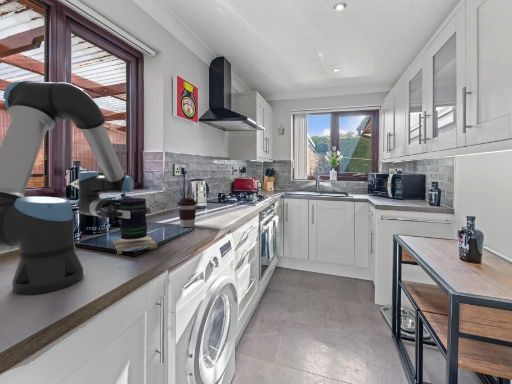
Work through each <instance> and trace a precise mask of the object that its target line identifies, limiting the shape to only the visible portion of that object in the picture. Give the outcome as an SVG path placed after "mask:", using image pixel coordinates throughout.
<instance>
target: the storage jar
mask: <svg viewBox="0 0 512 384" xmlns="http://www.w3.org/2000/svg"><path fill="white" fill-rule="evenodd" d="M146 201H147V199H146V198H143V197H133V198H130V197H129V198H121V199H119V200H118V202H119V203H118V204H119V206H120V207H119V210H123V211H130V219H127V218H120V224H119V227H120V228H119V232H120V239H125V240H133V239H140V238H144V237H146V236H147V235H148V233H147V232H148V226H147V225H148V222H147V214H146V207H147V202H146Z"/></svg>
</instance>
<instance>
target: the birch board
mask: <svg viewBox="0 0 512 384" xmlns="http://www.w3.org/2000/svg"><path fill="white" fill-rule="evenodd" d="M113 244H114V246H115V248H116V250H117V253H116V255H123V254H122V251H124V250H130V249H136V248H142V247H150V249H149V250H155V249H158V244H157V242H156V241H155V240H154V239H153V238H152V237H151V236H150V235H148V234H147V236H146V237H144V238H140V239H133V240H125V239H121V238H118V239H112V245H113ZM114 246H113V247H114ZM115 248H114V249H115ZM116 250H115V251H116Z"/></svg>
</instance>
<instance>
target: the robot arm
mask: <svg viewBox="0 0 512 384" xmlns="http://www.w3.org/2000/svg"><path fill="white" fill-rule="evenodd" d="M2 97H3V99H4V100H5V101H3V103H4V107H5V108H6V110H7V113H8V116H9V117H10V118H11V119H10V123H9V125H8V127H7V129H6V132H5V135H4V136H3V138H2V141H1V143H0V247H18V253H19V255H18V256H19V261H18V263H17V267H16V270H15V273H14V275H13V279H12V283H11V285H12V292H13V293H14V294H16V295H17V294H18V295H27V296H28V295H29V296H31V295H40V294H46V293H51V292H54V291H58V290H62V289H64V288H67V287H69V286H72V285H74V284H76V283H77V282H79V281H81V280H82V279H83V277H84V268H83V267H84V266H83V265H82V263H81V262H80V259H79V257H78V255H77V253H76V250H75V237H74V236H75V235H74V212H73V207H72V204H71V202H70V201H69V200H66V199H64V198H60V197H56V196H55V197H53V196H52V197H51V196H33V195H32V196H25V193H26V190H27V188H28V184H29V181H30V180H31V176H32V173H33V170H34V167H35V164H36V161H37V160H38V159H37V158H38V156H39V153H40V150H41V149H42V146H43V142H44V139H45V137H46V134H47V132H48V131H50V130H53V129H54V128H55V127H56V123H57V120H70V121H72V122H73V124H74V126H75V128H76V129H78V130H80V131H81V132H82V134H83V136H84V138H85V141H86V142H87V144H88V146H89V148H90V151H91V152H92V155H93V157H94V159H95V160H96V163H97V164H98V166H99V168H100V170H101V173H102V174H103V175H100V174H99V172H98V171H87V170H86V171H79V173H78V181H77V182H78V192H79V193H78V194H79V196H78V197H79V198H78V199H77V200H76V201H75V204H74V206H75V205H76V206H78V207H79V212H80V213H79V212H78V213H79V214H82V215H84V216H85V215H86V216H94V217H99V218H105V219H106V218H108V219H109V218H112V220H116V219H117V218H119V219H121V218H127V219H130V211H123V210H119V207H120V206H119V204H120V203H117V202H115V201H114V200H111V199H105V198H103V199H102V198H100V194H101V193H103V194H106V193H110V194H112V193H113V194H125V193H128V194H129V193H131V192H133V190H134V187H135V181H134V178H133V177H132V176H129V175H125V172H124V170H123V167H122V165H121V163H120V160H119V157H118V155H117V153H116V150H115V147H114V146H113V143H112V141H111V138H110V136H109V134H108V131H107V128H106V125H105V123H106V118H105V116H104V113H103V111H102V110H101V108H100V106H99V105H98V104H97V103H96V101H95V100H94V99H93V98H92V97H91V96H90V94H88V93H87V92H85V91H84V90H83V89H82V88H80V87H79V86H76V85H74V84H71V83H68V82H56V81H55V82H52V81H32V80H22V81H19V80H18V81H14V82H11V83H10V84H8V85H7V86H6V88H5V89H4V92H3V96H2ZM146 215H153V207H152V206H146Z"/></svg>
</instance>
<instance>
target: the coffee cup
mask: <svg viewBox="0 0 512 384" xmlns="http://www.w3.org/2000/svg"><path fill="white" fill-rule="evenodd" d="M197 203H198V202H197V201H196V200H195V199H194V198H192V197H184V198H180V199H179V201H177V206H178V215H179V222H180V223H179V224H180V227H181V228H184V227H189V228H193V227H195V222H196V221H195V220H196V214H197V213H196V210H197V207H196V206H197Z"/></svg>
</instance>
